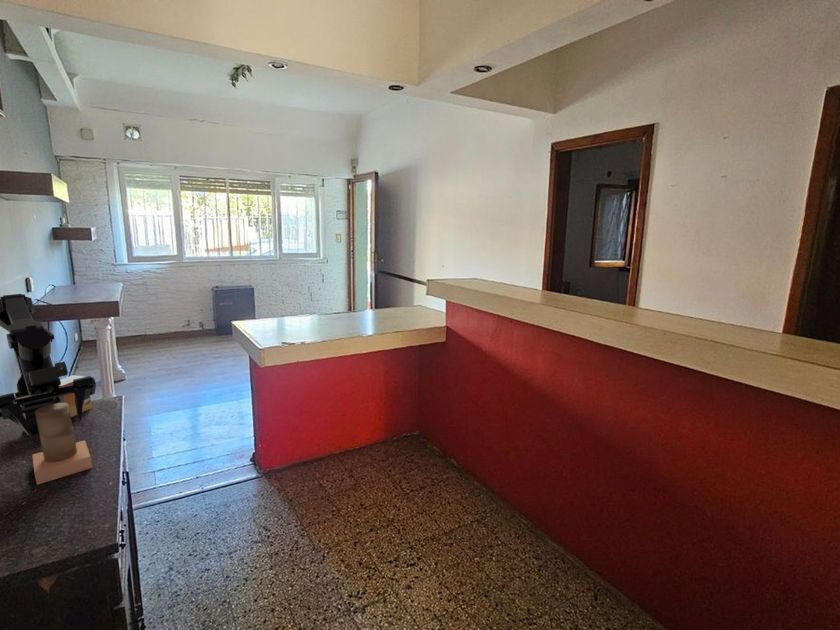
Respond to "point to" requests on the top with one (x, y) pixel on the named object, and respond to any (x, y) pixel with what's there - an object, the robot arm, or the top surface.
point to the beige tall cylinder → (56, 432)
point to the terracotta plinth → (61, 464)
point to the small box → (73, 396)
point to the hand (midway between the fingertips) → (55, 427)
